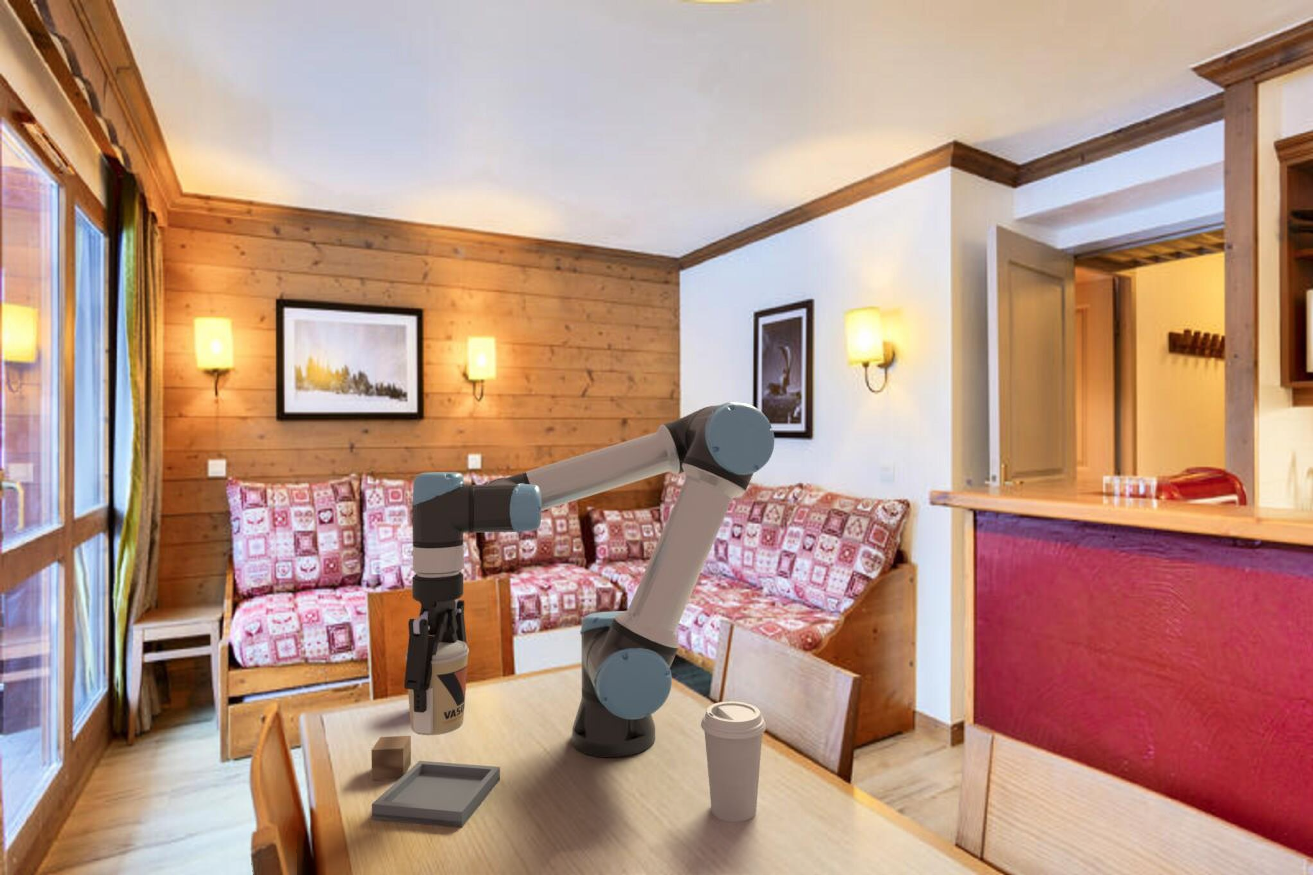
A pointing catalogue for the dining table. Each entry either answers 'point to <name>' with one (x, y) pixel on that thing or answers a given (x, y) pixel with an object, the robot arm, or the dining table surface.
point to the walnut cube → (391, 757)
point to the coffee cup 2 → (733, 758)
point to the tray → (437, 794)
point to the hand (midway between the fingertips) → (438, 719)
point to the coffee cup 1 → (446, 687)
